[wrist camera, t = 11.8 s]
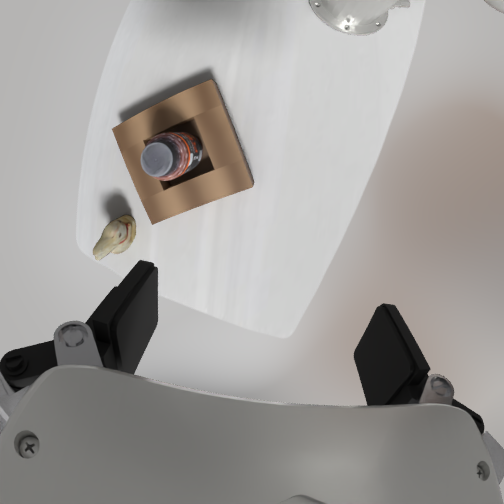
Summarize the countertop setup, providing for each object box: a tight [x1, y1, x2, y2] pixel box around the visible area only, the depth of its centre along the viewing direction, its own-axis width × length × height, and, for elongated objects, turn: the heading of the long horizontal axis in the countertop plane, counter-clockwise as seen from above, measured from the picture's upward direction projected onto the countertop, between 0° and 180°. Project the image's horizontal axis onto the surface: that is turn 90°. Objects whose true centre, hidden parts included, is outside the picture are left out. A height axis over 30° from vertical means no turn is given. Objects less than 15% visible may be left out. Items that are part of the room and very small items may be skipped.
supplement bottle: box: [140, 132, 203, 181], centre depth 33 cm, size 6×6×11 cm
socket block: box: [112, 79, 254, 225], centre depth 37 cm, size 16×16×4 cm
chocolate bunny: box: [93, 215, 136, 260], centre depth 41 cm, size 6×8×10 cm
